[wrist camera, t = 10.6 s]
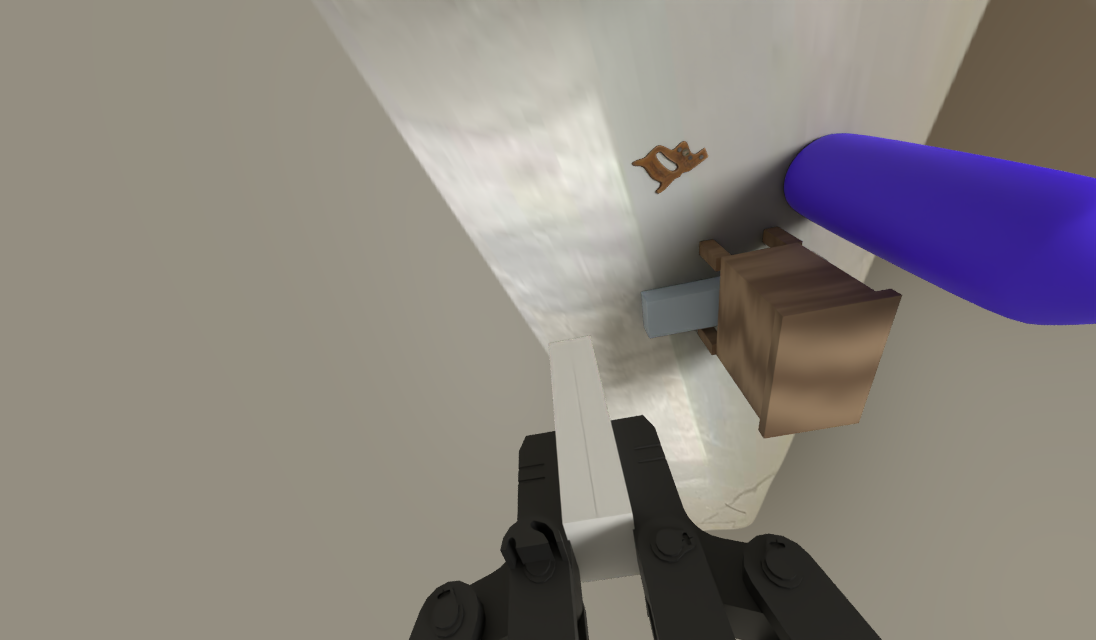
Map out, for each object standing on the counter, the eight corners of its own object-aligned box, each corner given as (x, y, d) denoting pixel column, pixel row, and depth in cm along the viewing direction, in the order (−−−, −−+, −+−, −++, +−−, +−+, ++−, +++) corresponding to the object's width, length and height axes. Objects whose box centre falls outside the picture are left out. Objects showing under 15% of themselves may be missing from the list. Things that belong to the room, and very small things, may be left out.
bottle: (774, 221, 42) (1144, 442, 17) (785, 139, 38) (1308, 271, 13) (853, 207, 42) (1353, 412, 17) (873, 122, 38) (1599, 223, 12)
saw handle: (880, -39, 32) (886, -41, 31) (893, 17, 34) (899, 16, 33) (628, 159, 39) (630, 160, 38) (652, 196, 41) (654, 198, 40)
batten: (640, 290, 47) (646, 302, 44) (768, 265, 46) (782, 276, 43) (643, 324, 49) (649, 338, 47) (764, 301, 48) (777, 314, 46)
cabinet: (699, 237, 43) (783, 316, 29) (778, 222, 42) (902, 295, 28) (697, 336, 50) (763, 438, 36) (765, 324, 50) (858, 422, 36)
